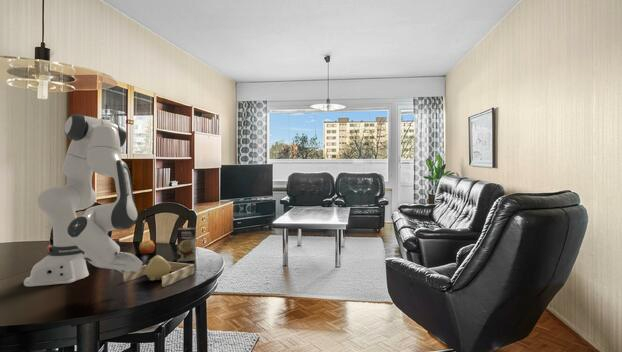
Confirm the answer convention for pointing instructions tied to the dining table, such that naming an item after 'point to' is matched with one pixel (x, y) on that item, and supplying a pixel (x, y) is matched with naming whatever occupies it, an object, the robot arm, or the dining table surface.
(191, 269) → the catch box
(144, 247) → the fruit
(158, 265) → the yellow animal toy
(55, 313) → the dining table surface
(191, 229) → the coffee box
